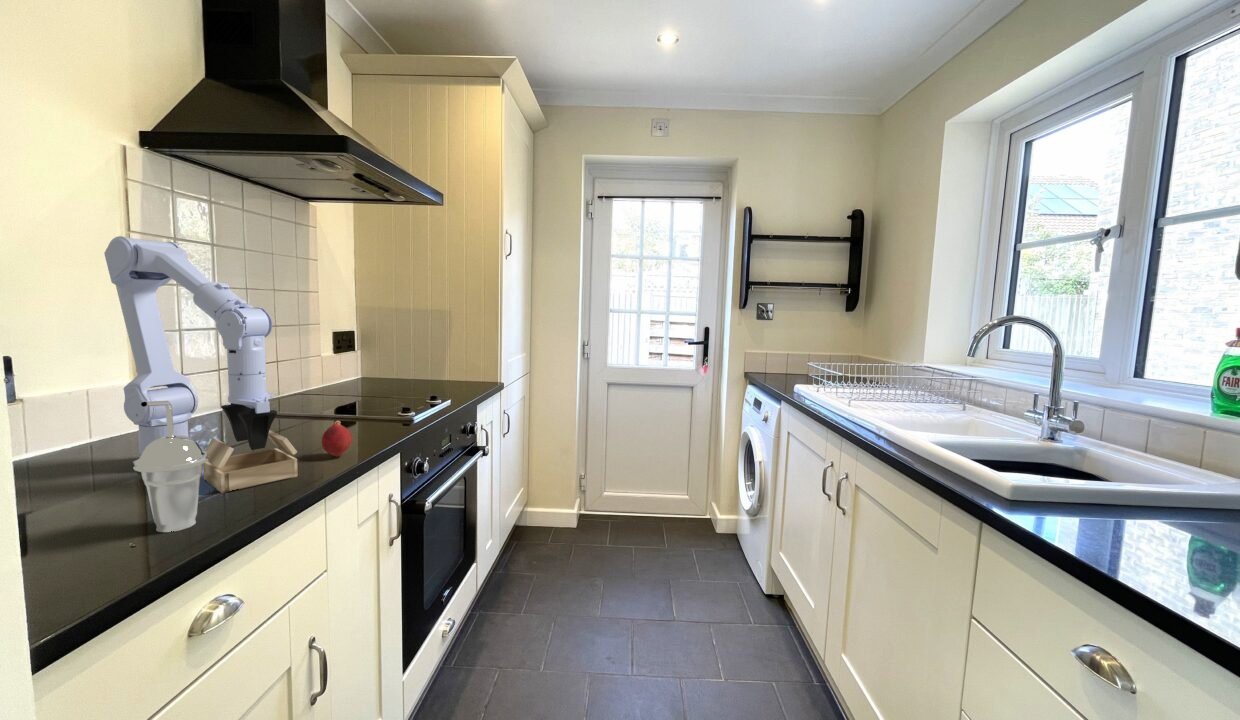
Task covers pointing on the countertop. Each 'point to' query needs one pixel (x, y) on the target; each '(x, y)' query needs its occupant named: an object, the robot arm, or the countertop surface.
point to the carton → (251, 470)
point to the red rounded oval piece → (336, 439)
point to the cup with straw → (172, 476)
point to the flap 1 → (218, 452)
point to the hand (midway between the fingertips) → (250, 444)
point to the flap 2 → (281, 442)
